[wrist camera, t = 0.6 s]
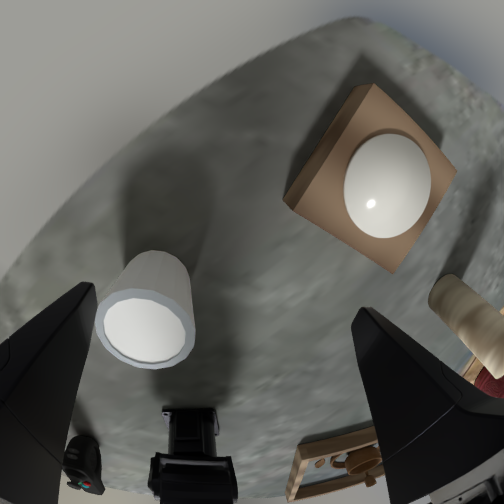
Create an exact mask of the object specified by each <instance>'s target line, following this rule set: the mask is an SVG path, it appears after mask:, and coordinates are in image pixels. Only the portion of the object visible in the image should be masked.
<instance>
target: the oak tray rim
mask: <svg viewBox="0 0 504 504" xmlns="http://www.w3.org/2000/svg"><path fill="white" fill-rule="evenodd" d="M377 442H378V440H377V435H376V431H375V427H374V426H372V427H369V428H365V429H362V430H359V431H355V432H352V433H348V434H345V435H341V436H337V437H333V438H329V439H325V440H320V441H316V442H311V443H306V444H301V445H297V449H296V453H295V457H294V461H293V465H292V469H291V473H290V476H289V480H288V484H287V487H286V491H285V494H286V498H287V502H293V501H298V500H303V499H308V498H312V497H316V496H320V495H325V494H328V493H332V492H336V491H339V490H343V489H346V488H349V487H352V486H356V485H359V484H362V483H365V481H364V479H365V477H366V474H365V473H364V472H363V473H360V474H357V475H349V476H346V477H343V478H339V479H336V480H332V481H328V482H324V483H320V484H316V485H312V486H307V487H302V488H299V485H300V483H301V480H302V478H303V475H304V472H305V470H306V467H307V464H308V462H309V461H313V460H318V459H322V458H326V457H330V456H334V455H338V454H342V453H345V452H349V451H352V450H356V449H359V448H362V447H365V446H368V445H371V444H374V443H377ZM368 473H369V475H373V476H374V478H375V479H376V478H379V477H381V476H384V475H385V472H384V467H383V464H382V465H379V466H377V467H374V468H372V469H370V470H368Z"/></svg>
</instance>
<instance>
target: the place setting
mask: <svg viewBox="0 0 504 504" xmlns="http://www.w3.org/2000/svg"><path fill="white" fill-rule="evenodd" d="M342 454H343V453H342ZM342 454H338V455H334V456H332V458H331V461H330V464H331V467H332V468H335V469H343V468H346V470H347V472H348V474H349V475H357V474H360V473H363V472H364V473H365V474H366V477H365V479H364V481H365V484H366V487H371V486H373V485H375V484H376V480H375V478H374V476H373V475H369V473H368V470H370V469H372V468H373V467H375V466H377V465H378V464H379V463H380V462H381V461H382V457H381V454H380V448H379V446H378V447H377V448H375V447H372V446H365V447H362V448H359V449H356V450H352V451H351V452H350V453H349V456H348V457H347V458H346V460H345V462H344V463H337V462H334V461H335V459H336V458H338V457H339V456H340V455H342ZM324 463H325V460H324V458H322V459H321V460H319V461H318V462H317V463H316V464H315V467H316V468H319V467H321V466H322V465H323V464H324Z"/></svg>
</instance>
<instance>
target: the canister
mask: <svg viewBox="0 0 504 504" xmlns="http://www.w3.org/2000/svg"><path fill="white" fill-rule="evenodd" d="M474 386H476V387H477V388H478V389H480V390H481V391H483V392H484V393H486V394H487V395H489V396H492V397H496V398H504V375H503V376H502V377H500V378H498V379H495V378H494V376H493V375H492V374H491V373H490V372H489V371H488V369H487V368H486V367H484V368H483V369H482V371H481V372H480V374H479V375H478V377H477V379H476V381H475V384H474Z"/></svg>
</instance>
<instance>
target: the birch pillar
mask: <svg viewBox="0 0 504 504" xmlns="http://www.w3.org/2000/svg"><path fill="white" fill-rule="evenodd" d="M428 304H429V307H430V308H431V309H432V310H433V311H434V312H435V313H436V314H437V315H438V316H439V317H440V318H441V319H442V320H443V321H444V322H445V323H446V325H447V326H448V327H449V328H450V329H451V330H452V331H453V332H454V333H455V334H456V335H457V336H458V337H459V338H460V339H461V340H462V341H463V343H464V344H465V345H466V346H467V347H468V348H469V349H470V350H471V351H472V352H473V354H474V355H475V356H476V357H477V358H478V359H479V360H480V361H481V363H482V364H483V365H484V366H485V367H486V368H487V369H488V371H489V372H490V373H491V374H492V375H493V376H494V378H495V379H498V378H500V377H502V376H503V375H504V316H503V315H502V314H501V313H500V312H498V311H497V310H496V309H495V308H494V307H493V306H492V305H490V304H489V303H488V302H487V301H486V300H485V299H483V298H482V297H481V296H480V295H479V294H477V293H476V292H475V291H474V290H473V289H471V288H470V287H469V286H468V285H466V284H465V283H464V282H463V281H461V280H460V279H459V278H458V277H456V276H455V275H454V274H447V275H445V276H443V277H442V278H440V279H439V280H438V281H437V282H436V284H435V285H434V286H433V288H432V290H431V292H430V295H429V298H428Z"/></svg>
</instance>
